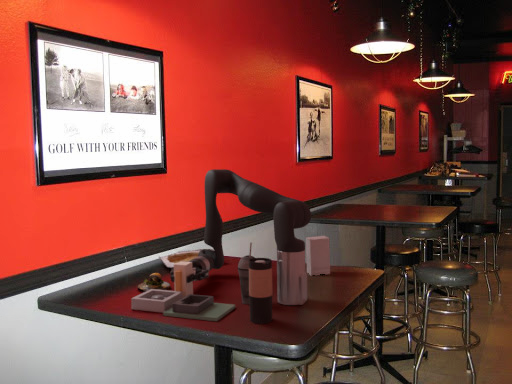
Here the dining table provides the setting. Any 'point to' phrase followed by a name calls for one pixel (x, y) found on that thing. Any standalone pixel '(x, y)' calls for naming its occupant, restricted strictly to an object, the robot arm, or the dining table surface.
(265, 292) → the travel mug
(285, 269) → the robot arm
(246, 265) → the beverage cup
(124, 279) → the dining table surface
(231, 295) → the dining table surface
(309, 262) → the skincare box
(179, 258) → the oval serving dish
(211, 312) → the header board
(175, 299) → the fan
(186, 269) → the plug
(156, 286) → the burger
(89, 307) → the dining table surface
